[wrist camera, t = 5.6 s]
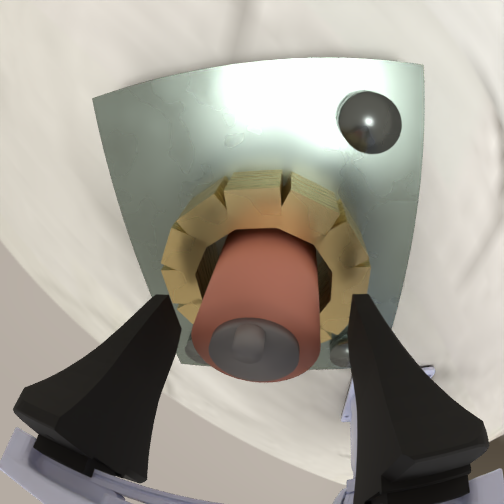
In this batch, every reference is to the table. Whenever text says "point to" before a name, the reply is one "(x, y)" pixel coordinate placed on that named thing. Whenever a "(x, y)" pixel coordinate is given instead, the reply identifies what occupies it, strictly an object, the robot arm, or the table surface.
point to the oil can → (261, 307)
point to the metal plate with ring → (271, 176)
